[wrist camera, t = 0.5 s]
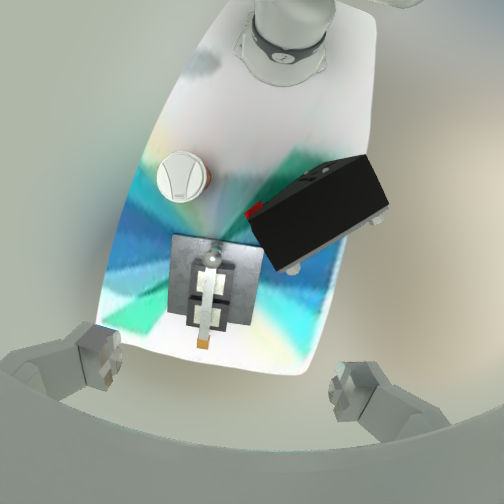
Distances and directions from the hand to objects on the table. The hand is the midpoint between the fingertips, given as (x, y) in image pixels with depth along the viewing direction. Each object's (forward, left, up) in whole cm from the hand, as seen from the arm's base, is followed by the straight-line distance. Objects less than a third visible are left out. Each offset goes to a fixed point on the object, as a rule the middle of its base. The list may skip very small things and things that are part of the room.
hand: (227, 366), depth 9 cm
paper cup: (-6, -10, -45) cm, 47 cm away
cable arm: (+15, -4, -38) cm, 41 cm away
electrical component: (-4, +10, -45) cm, 47 cm away
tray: (+14, -4, -45) cm, 47 cm away
